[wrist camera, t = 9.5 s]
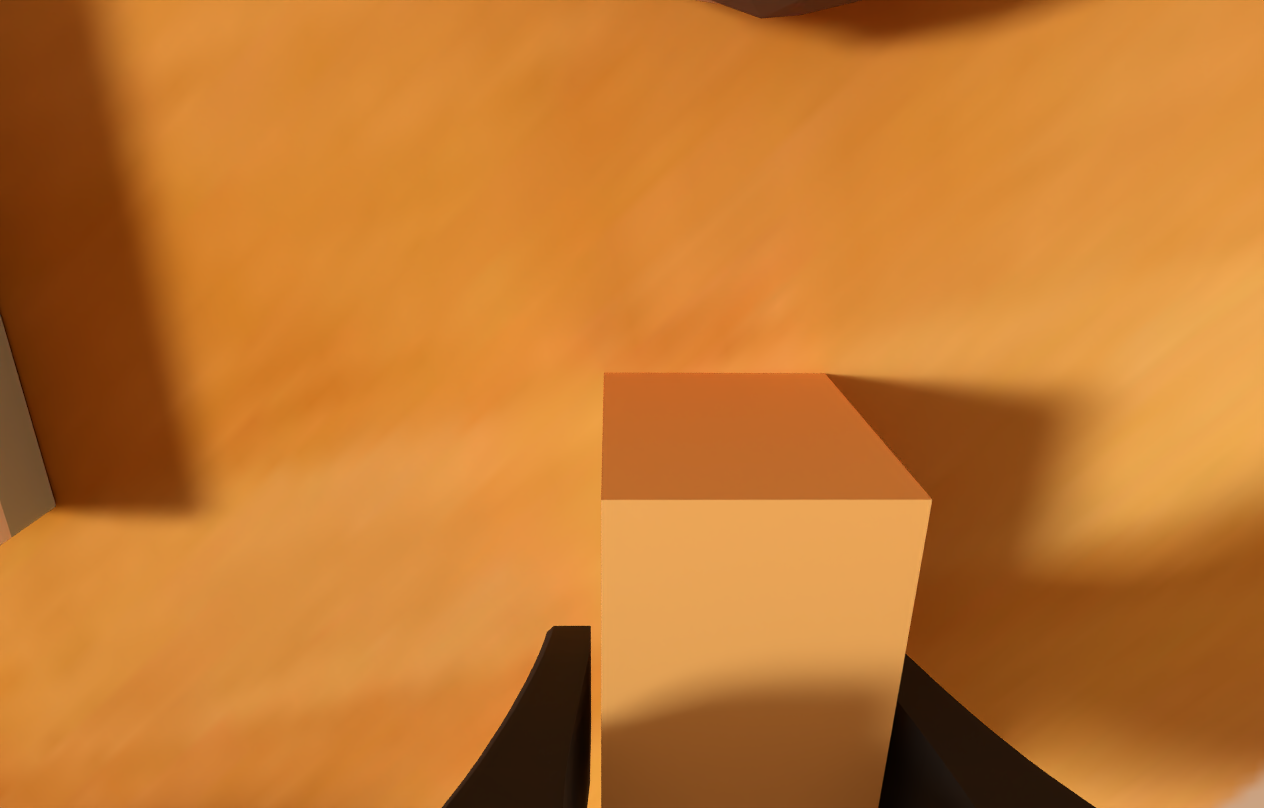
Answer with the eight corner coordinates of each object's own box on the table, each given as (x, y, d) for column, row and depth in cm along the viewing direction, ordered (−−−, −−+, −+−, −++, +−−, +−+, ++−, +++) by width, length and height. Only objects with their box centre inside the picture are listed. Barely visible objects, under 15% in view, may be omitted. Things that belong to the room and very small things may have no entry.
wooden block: (773, 817, 16) (832, 1069, 12) (603, 820, 16) (601, 1074, 12) (822, 370, 12) (932, 499, 8) (603, 369, 12) (601, 499, 8)
